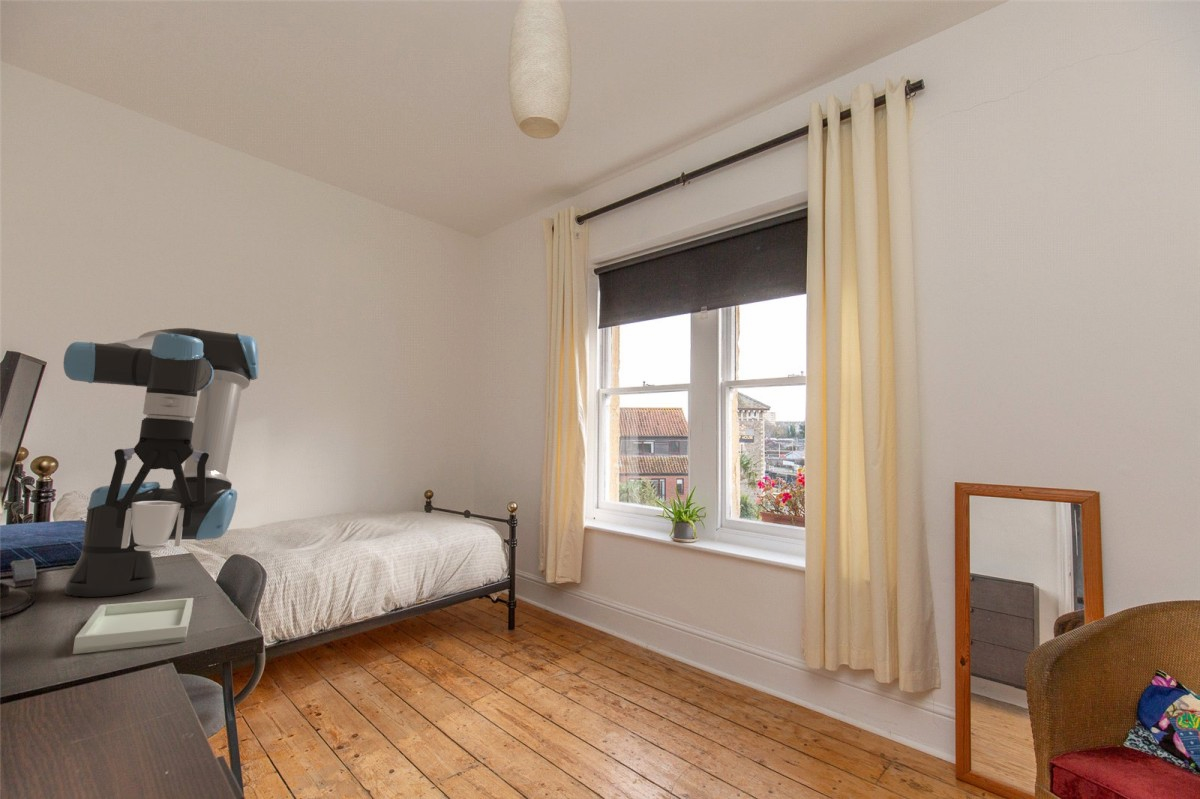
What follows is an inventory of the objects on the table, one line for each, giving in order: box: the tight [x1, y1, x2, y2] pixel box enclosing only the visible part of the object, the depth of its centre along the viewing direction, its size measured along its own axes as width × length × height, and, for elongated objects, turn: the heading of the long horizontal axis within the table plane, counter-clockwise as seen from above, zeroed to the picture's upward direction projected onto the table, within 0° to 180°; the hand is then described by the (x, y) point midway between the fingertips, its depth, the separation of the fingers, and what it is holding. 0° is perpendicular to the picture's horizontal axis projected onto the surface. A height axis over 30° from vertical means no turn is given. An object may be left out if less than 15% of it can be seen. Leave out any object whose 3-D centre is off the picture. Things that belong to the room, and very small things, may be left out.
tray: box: [72, 597, 194, 655], centre depth 97 cm, size 20×14×2 cm
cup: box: [132, 501, 181, 552], centre depth 99 cm, size 7×10×8 cm
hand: (151, 545), depth 99 cm, fingers closed on cup, 7 cm apart
